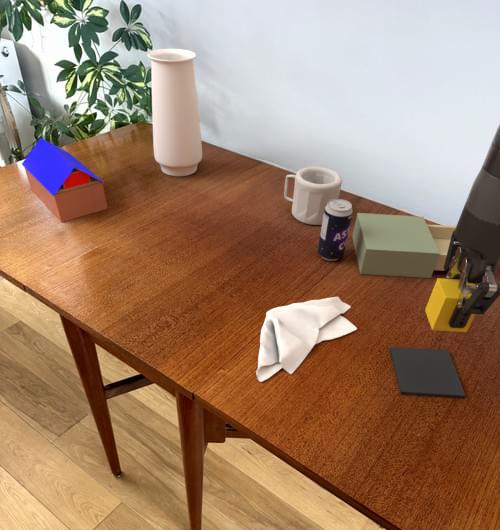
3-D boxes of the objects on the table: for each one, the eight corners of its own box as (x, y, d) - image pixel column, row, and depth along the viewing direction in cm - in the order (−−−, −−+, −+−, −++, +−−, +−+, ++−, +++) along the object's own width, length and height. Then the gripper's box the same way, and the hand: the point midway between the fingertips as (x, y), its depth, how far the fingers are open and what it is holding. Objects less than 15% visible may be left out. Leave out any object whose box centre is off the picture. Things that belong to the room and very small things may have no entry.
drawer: (484, 242, 105) (491, 225, 102) (505, 277, 95) (514, 260, 92) (405, 237, 105) (410, 220, 102) (417, 272, 95) (424, 254, 92)
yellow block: (457, 312, 70) (472, 280, 66) (466, 332, 67) (482, 299, 63) (424, 310, 70) (437, 278, 66) (431, 330, 67) (445, 297, 63)
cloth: (319, 285, 92) (320, 276, 91) (373, 322, 85) (376, 312, 83) (214, 341, 79) (214, 331, 78) (267, 390, 72) (268, 380, 70)
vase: (206, 177, 126) (203, 60, 107) (157, 180, 123) (146, 61, 104) (198, 158, 135) (195, 47, 116) (153, 160, 132) (142, 47, 113)
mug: (341, 211, 115) (348, 172, 108) (326, 230, 108) (333, 190, 101) (291, 197, 119) (295, 159, 112) (273, 215, 112) (277, 175, 105)
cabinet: (415, 240, 106) (423, 216, 102) (430, 278, 96) (440, 253, 91) (352, 236, 106) (357, 212, 102) (360, 274, 96) (366, 248, 91)
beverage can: (329, 265, 97) (339, 214, 89) (311, 253, 101) (319, 202, 92) (348, 257, 100) (360, 206, 92) (330, 245, 103) (340, 195, 95)
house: (60, 223, 105) (47, 173, 97) (29, 189, 116) (15, 143, 109) (109, 208, 111) (100, 161, 103) (75, 178, 122) (65, 133, 114)
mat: (447, 352, 80) (448, 350, 79) (464, 398, 72) (465, 395, 72) (389, 349, 80) (390, 346, 79) (400, 394, 72) (401, 391, 72)
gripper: (555, 241, 51) (493, 351, 62) (508, 183, 61) (462, 286, 73) (487, 237, 51) (437, 347, 62) (451, 179, 61) (414, 283, 73)
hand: (451, 314), depth 67 cm, fingers closed on yellow block, 4 cm apart
